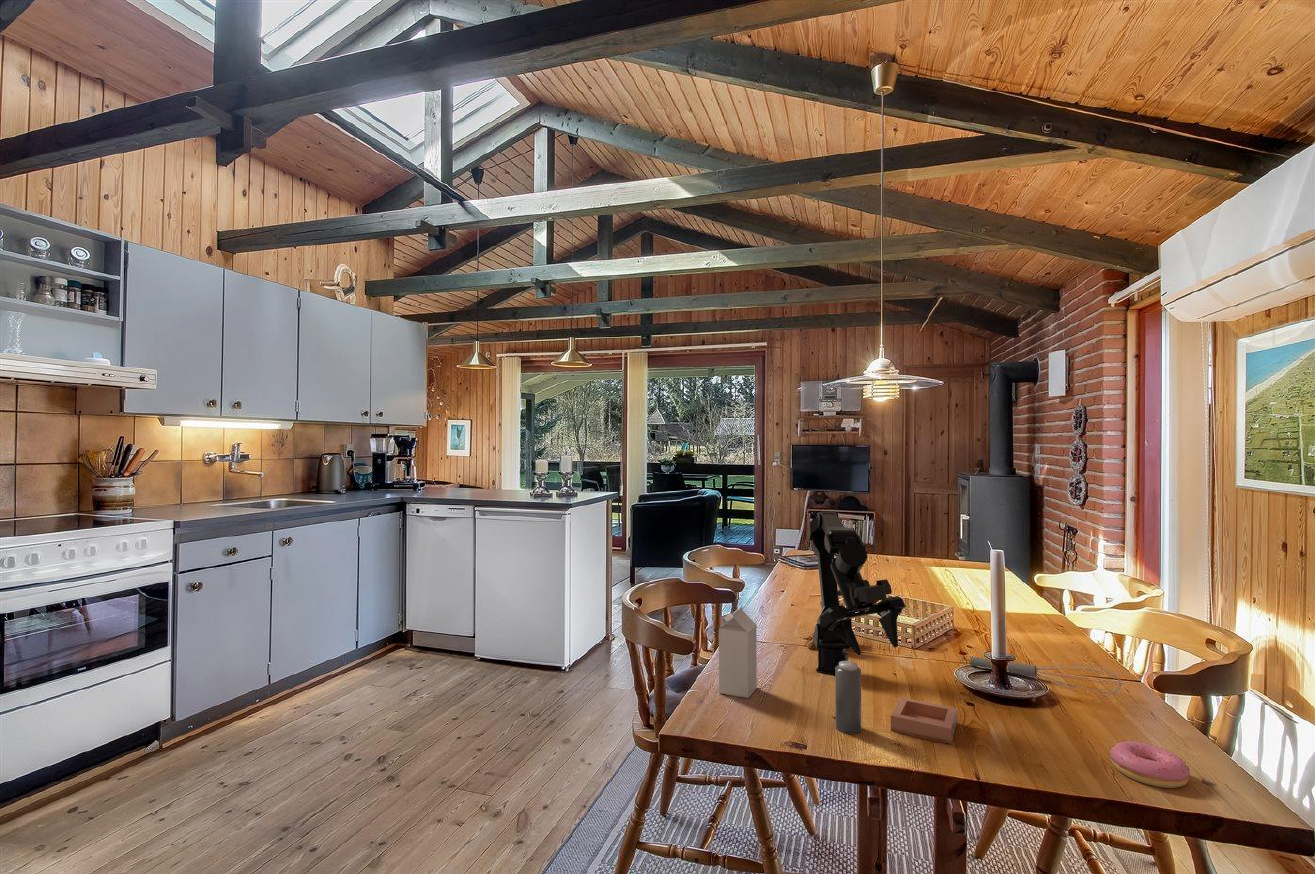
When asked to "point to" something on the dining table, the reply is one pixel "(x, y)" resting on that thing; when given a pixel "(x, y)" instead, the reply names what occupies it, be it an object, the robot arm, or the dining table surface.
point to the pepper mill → (848, 697)
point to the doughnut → (1149, 764)
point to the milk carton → (738, 655)
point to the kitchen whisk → (1032, 671)
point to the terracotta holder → (924, 720)
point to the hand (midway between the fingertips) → (878, 650)
